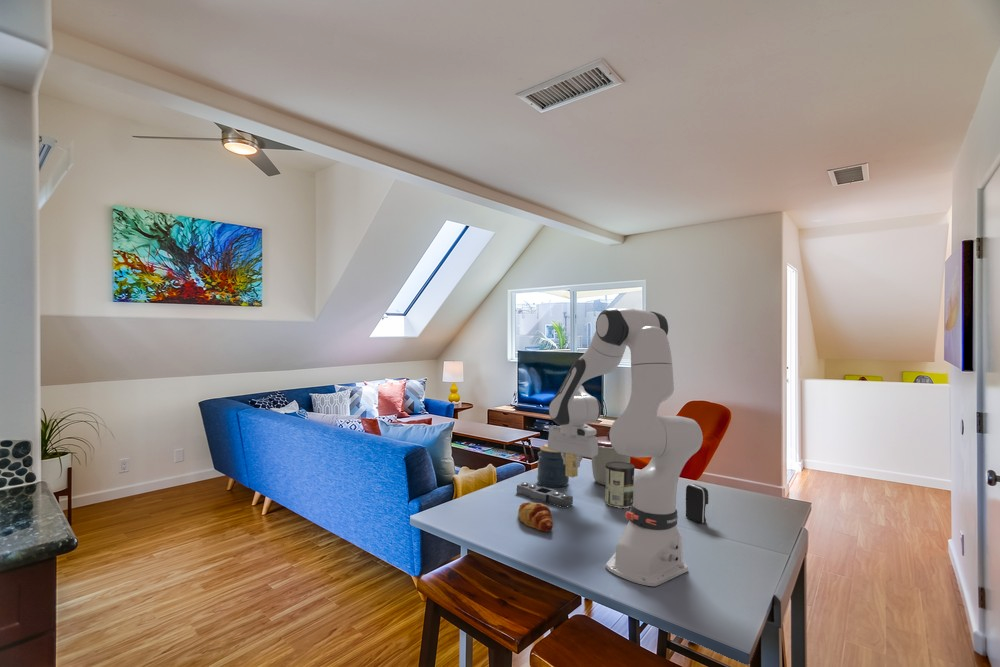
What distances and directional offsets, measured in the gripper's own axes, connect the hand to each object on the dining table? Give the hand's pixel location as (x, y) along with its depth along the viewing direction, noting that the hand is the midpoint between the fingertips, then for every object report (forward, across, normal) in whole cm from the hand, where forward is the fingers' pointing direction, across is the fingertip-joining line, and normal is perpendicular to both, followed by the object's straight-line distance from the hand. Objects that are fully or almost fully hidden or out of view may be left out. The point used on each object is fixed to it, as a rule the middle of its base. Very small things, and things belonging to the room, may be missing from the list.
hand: (571, 465), depth 176 cm
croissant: (+13, +4, -26) cm, 30 cm away
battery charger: (+13, +40, +14) cm, 45 cm away
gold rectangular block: (+4, 0, 0) cm, 4 cm away
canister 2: (+12, -1, +30) cm, 32 cm away
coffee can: (+13, +14, +10) cm, 21 cm away
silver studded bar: (+12, -8, -6) cm, 16 cm away
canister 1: (+12, -17, +12) cm, 24 cm away
